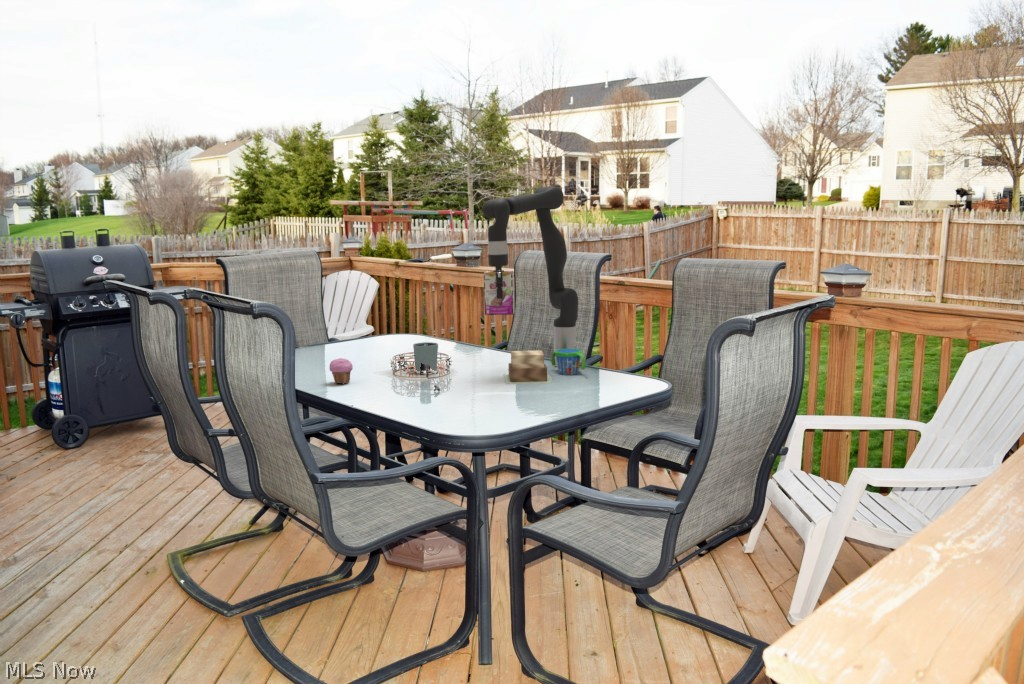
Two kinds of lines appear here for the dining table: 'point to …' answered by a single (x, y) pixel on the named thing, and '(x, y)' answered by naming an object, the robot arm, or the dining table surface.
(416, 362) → the grey green cup
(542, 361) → the maple block
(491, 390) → the dining table surface
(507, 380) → the sage mat
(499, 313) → the candy bar box
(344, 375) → the cupcake
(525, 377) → the walnut block
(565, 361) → the snack cup
